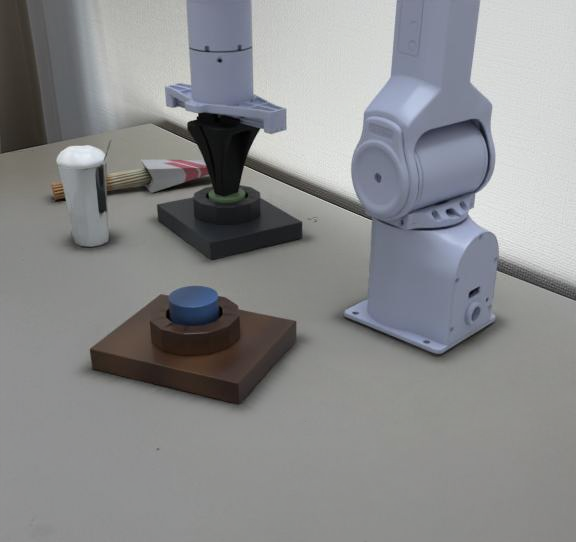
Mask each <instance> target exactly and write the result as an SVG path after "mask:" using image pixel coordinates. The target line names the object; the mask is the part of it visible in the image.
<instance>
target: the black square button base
mask: <svg viewBox="0 0 576 542" xmlns="http://www.w3.org/2000/svg"><path fill="white" fill-rule="evenodd" d="M239 188H240V189H242V190H244V191H245V199H244V200H242V201H237V202H232V203H219V202H214V201H210V200H209V192H210V191H211V190H213V186H212V185H211V186H205V187H203V188H201V189H199V190H198V191H195V192H194V193H193V197H187V198H182V199H177V200H172V201H167V202H162V203H158V204H156V211H157V212H156V213H157V220H158V221H159V222H160V223H161V224H163V225H164V226H166V227H167V228H168V229H170V230H171V231H172V232H174V233H175V234H176V235H178V236H179V237H180V238H181V239H184V241H186V242H187V244H190V245H191V246H192V247H194V248H195V249H196V250H198V251H199V252H200V253H201V254H203V255H204V256H205V257H207V258H208V259H210V260H216V259H219V258H224V257H227V256H232V255H235V254H240V253H244V252H249V251H253V250H257V249H261V248H266V247H271V246H275V245H278V244H283V243H287V242H291V241H296V240H300V239H303V222H302V220H299V219H298V218H296V217H295V216H292V215H291V214H289V213H288V212H286V211H284V210H283V209H281V208H279V207H277V206H276V205H273V204H272V203H270V202H269V201H267V200H265V199H263V198H262V197H261V192H260V191H258V190H257V189H255V188H253V187H251V186H246V185H242V184H240V186H239Z"/></svg>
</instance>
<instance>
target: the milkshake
mask: <svg viewBox="0 0 576 542" xmlns="http://www.w3.org/2000/svg"><path fill="white" fill-rule="evenodd" d="M112 140H113V139H112V138H110V139H109V140H108V144H107V147H106V151H105V152H104V151H103V150H102V149H100V148H98V147H95V146H93V145H90V144H86V145H69V146H67V147H66V148H65V149H63V150H62V151H60V152H59V153H58V155H57V157H56V166H57V169H58V174H59V177H60V182H62V186H63V190H64V194H65V198H64V199H65V203H66V206H67V211H68V212H67V213H68V216H69V221H70V226H71V231H72V233H73V234H72V235H73V239H74V243H75V244H77V245H78V246H80V247H87V248H88V247H89V248H92V247H93V248H94V247H98V246H103V245H104V244H107V243H108V242H109V236H110V235H109V232H110V231H109V213H108V212H109V210H108V208H109V207H108V191H107V174H108V160H107V159H108V158H107V156H108V153H109V149H110V147H111V143H112Z"/></svg>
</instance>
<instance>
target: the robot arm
mask: <svg viewBox="0 0 576 542" xmlns="http://www.w3.org/2000/svg"><path fill="white" fill-rule="evenodd" d="M185 3H186V5H185V6H186V22H187V39H188V53H189V54H188V55H189V71H190V84H188V83H182V82H178V83H173V84H169V85H165V86H164V95H165V96H164V97H165V106H166V107H167V108H172V109H174V108H181V109H184V110H185V111H186V112H190V113H194V114H197V116H196V119H194V120H189V121H187V123H186V126H187V127H186V128H187V131H188V133H189V135H190V136H191V137H192V139H193V140H194V142H195V143H196V145H197V148H198V150H199V152H200V154H201V156H202V160H204V161H205V164H206V167H207V170H208V173H209V175H208V177H209V179H210V182H211V186H213V189H214V192H215V194H217V195H220V196H223V197H225V196H228V195H231V194H234V193H237V192H238V191H239V186H240V185H241V182H242V181H241V180H242V178H243V177H242V176H243V172H244V168H245V164H246V161H247V158H248V155H249V152H250V150H251V148H252V145H253V143H254V141H255V139H256V137H257V135H258V134H259V133H260V130H261V129H262V130H263V132H264V133H265V134H268V135H273V134H276V133H281V132H284V131H287V129H288V128H287V126H288V125H287V108H286V107H283V106H280V105H276V104H274V103H272V102H270V101H268V100H267V99H265V98H263V97H260V96H259V95H257V94H255V92H254V91H255V89H254V56H253V55H254V54H253V47H254V46H253V7H252V5H253V4H252V0H185ZM395 7H396V8H395V17H394V28H393V29H394V30H393V41H392V42H393V43H392V55H391V66H390V68H391V69H390V77H389V78H388V80H387V81H386V82H385V84H384V86H383V87H382V88H381V89H380V90H379V91H378V93H377V94H376V95H375V97H374V98H373V99H372V100H371V102H370V103H369V104H368V106H367V107H365V110H364V111H363V119H362V121H363V123H362V130H361V135H360V136H359V137H360V138H359V140H358V142H357V144H356V146H355V148H354V150H353V154H352V158H351V163H350V174H351V175H350V176H351V183H352V187H353V190H354V193H355V195H356V197H357V199H358V202H359V203H360V204H361V205H362V207H363V208H364V210H365V211H364V212H365V215H366V216H369V217H371V231H370V232H371V233H370V248H369V249H370V251H369V252H370V253H369V270H368V289H367V290H368V291H367V299H365V300H362V301H360V302H358V303H357V304H355V305H353V306H351V307H349V308H346V309H345V310H344V317H345V318H347V319H349V320H352V321H355V322H357V323H360V324H362V325H364V326H367V327H370V328H371V329H374V330H376V331H379V332H381V333H383V334H386V335H389V336H392V337H394V338H396V339H398V340H401V341H404V342H406V343H407V344H410V345H413V346H415V347H418V348H420V349H423V350H425V351H428V352H430V353H432V354H436V355H440V354H443V353H445V352H447V351H448V350H450V349H451V348H453V347H455V346H456V345H458V344H459V343H461V342H463V341H464V340H466V339H467V338H469V337H471V336H472V335H474V334H476V333H478V332H479V331H482V329H484V328H486V327H487V326H489V325H491V324H492V323H494V322H495V321H496V315H495V314H494V313H492V310H493V309H492V308H493V304H494V303H493V302H494V295H495V288H496V280H497V273H498V272H497V271H498V265H499V264H498V263H499V256H500V255H499V254H500V247H499V241H498V238H497V236H496V234H495V233H493V232H492V231H490V230H488V229H487V228H484V227H483V226H481V225H480V224H478V223H477V222H475V220H474V219H472V217H471V216H470V214H469V211H470V210H472V209H474V207H475V201H476V194H478V193H479V192H481V191H483V189H484V188H485V187H487V185H488V184H489V182H490V181H491V179H492V176H493V175H494V171H495V165H496V148H495V144H494V139H493V135H492V123H491V122H492V114H493V107H494V105H493V103H492V102H491V101H490V100H489V98H487V96H485V95H484V94H483V93H482V92H481V91H480V90H479V89H478V88H477V87H476V86H475V85H474V84H473V83H472V82H471V77H472V68H473V62H474V53H475V47H476V46H475V45H476V39H477V31H478V30H477V29H478V23H479V14H480V7H481V0H396V6H395Z"/></svg>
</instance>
